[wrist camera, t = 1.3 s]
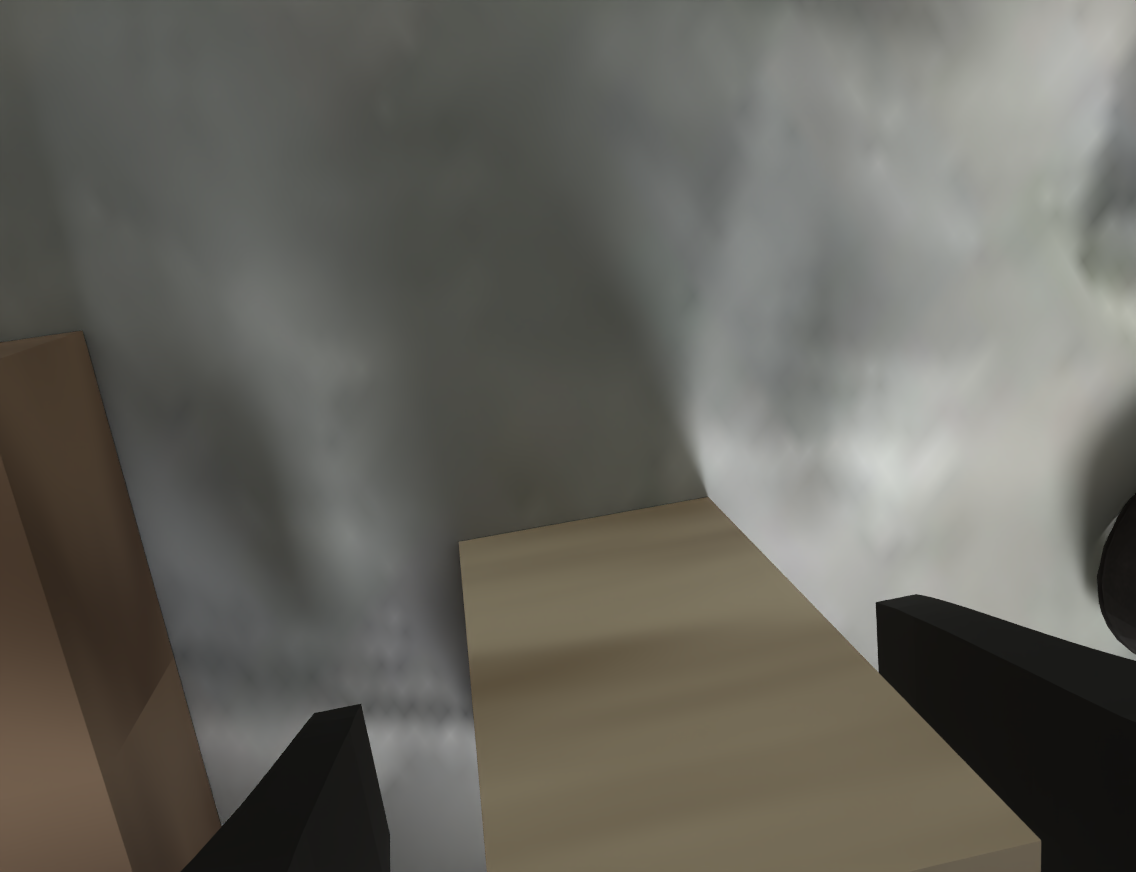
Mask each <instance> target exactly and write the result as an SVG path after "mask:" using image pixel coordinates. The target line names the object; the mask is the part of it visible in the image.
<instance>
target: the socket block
mask: <svg viewBox="0 0 1136 872" xmlns="http://www.w3.org/2000/svg"><path fill="white" fill-rule="evenodd" d="M220 828H221V824H220V820H219V817H218V813H217V810H216V806H215V802H214V799H213V795H212V792H211V788H210V785H209V781H208V777H207V774H206V770H205V767H204V763H203V760H202V756H201V752H200V749H199V745H198V742H197V738H196V735H195V731H194V727H193V724H192V720H191V717H190V713H189V710H188V706H187V702H186V699H185V695H184V692H183V688H182V685H181V681H180V677H179V674H178V670H177V667H176V663H175V660H174V656H173V652H172V649H171V645H170V642H169V638H168V635H167V631H166V627H165V624H164V620H163V617H162V613H161V610H160V606H159V602H158V599H157V595H156V592H155V588H154V585H153V581H152V577H151V574H150V570H149V567H148V563H147V560H146V556H145V552H144V549H143V545H142V542H141V538H140V535H139V531H138V527H137V524H136V520H135V517H134V513H133V510H132V506H131V502H130V499H129V495H128V492H127V488H126V485H125V481H124V477H123V474H122V470H121V467H120V463H119V460H118V456H117V452H116V449H115V445H114V442H113V438H112V434H111V431H110V427H109V424H108V420H107V417H106V413H105V409H104V406H103V402H102V399H101V395H100V392H99V388H98V384H97V381H96V377H95V374H94V370H93V367H92V363H91V359H90V356H89V352H88V349H87V345H86V342H85V338H84V334H83V331H75V332H68V333H62V334H55V335H48V336H41V337H34V338H27V339H20V340H14V341H7V342H0V872H180V871H181V870H182V869H183V868H184V867H185V866H186V865H187V864H188V863H189V862H190V861H191V860H192V859H193V858H194V857H195V856H196V855H197V854H198V852H199V851H200V850H201V849H202V848H203V847H204V846H205V845H206V844H207V842H208V841H209V840H210V839H211V838H212V837H213V836H214V835H215V834H216V832H217V831H218V830H219V829H220Z"/></svg>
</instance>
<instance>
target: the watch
mask: <svg viewBox="0 0 1136 872" xmlns="http://www.w3.org/2000/svg"><path fill="white" fill-rule="evenodd" d="M1097 584H1098V598H1099V604H1100V608H1101V612H1102V615H1103V617H1104V619H1105V621H1106V624H1107V626H1108V628H1109V629H1110V630H1111V632H1112V633H1113V635H1114V636H1115V637H1116V639H1117V640H1118V641H1119V642H1121V643H1122V644H1123V645H1124V646H1125V647H1127V648H1128V649H1129V650H1130V651H1131V652H1133V653H1134V654H1136V493H1135V494H1134V495H1133V497H1132V498H1131V499H1130V500H1129V501H1128V502H1127V504H1126V505H1125V506H1124V508H1123V509H1122V511H1121V512H1120V514H1119V515H1118V517H1117V520H1116V522H1115V524H1114V526H1113V528H1112V530H1111V532H1110V534H1109V536H1108V539H1107V541H1106V543H1105V545H1104V548H1103V552H1102V557H1101V561H1100V566H1099V570H1098V574H1097Z"/></svg>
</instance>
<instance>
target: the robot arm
mask: <svg viewBox="0 0 1136 872" xmlns="http://www.w3.org/2000/svg"><path fill="white" fill-rule="evenodd" d="M876 619H877V642H878V665H879V674H880V675H881V676H882V677H883V678H884V679H885V680H886V681H887V682H888V683H889V684H890V685H891V686H892V687H893V688H894V689H895V690H896V691H897V692H898V693H899V694H900V695H901V696H902V697H903V698H904V699H905V701H906V702H907V703H908V704H909V705H910V706H911V707H912V708H913V709H914V710H915V711H916V712H917V713H918V714H919V715H920V716H921V717H922V718H923V719H924V720H925V721H926V722H927V723H928V724H929V725H930V726H931V727H932V728H933V729H934V730H935V731H936V733H937V734H938V735H939V736H940V737H941V738H942V739H943V740H944V741H945V742H946V743H947V744H948V745H949V746H950V747H951V748H952V749H953V750H954V751H955V752H956V753H957V754H958V755H959V756H960V757H961V758H962V759H963V760H964V761H965V762H966V763H967V764H968V766H969V767H970V768H971V769H972V770H973V771H974V772H975V773H976V774H977V775H978V776H979V777H980V778H981V779H982V780H983V781H984V782H985V783H986V784H987V785H988V786H989V787H990V788H991V789H992V790H993V791H994V792H995V793H996V794H997V795H998V796H999V797H1000V799H1001V800H1002V801H1003V802H1004V803H1005V804H1006V805H1007V806H1008V807H1009V808H1010V809H1011V810H1012V811H1013V812H1014V813H1015V814H1016V815H1017V816H1018V817H1019V818H1020V819H1021V820H1022V821H1023V822H1024V823H1025V824H1026V825H1027V826H1028V827H1029V828H1030V829H1031V830H1032V832H1033V833H1034V834H1035V835H1036V836H1037V837H1038V838H1039V839H1040V840H1041V872H1136V661H1134V660H1131V659H1127V658H1123V657H1120V656H1116V655H1113V654H1109V653H1106V652H1102V651H1099V650H1095V649H1092V648H1089V647H1085V646H1082V645H1079V644H1076V643H1072V642H1069V641H1066V640H1063V639H1060V638H1057V637H1053V636H1050V635H1047V634H1044V633H1041V632H1038V631H1035V630H1032V629H1029V628H1026V627H1023V626H1020V625H1017V624H1014V623H1011V622H1008V621H1005V620H1002V619H999V618H996V617H993V616H990V615H987V614H984V613H981V612H978V611H975V610H972V609H969V608H966V607H963V606H959V605H956V604H953V603H950V602H946V601H943V600H939V599H935V598H932V597H927V596H923V595H918V594H915V595H910V596H905V597H900V598H895V599H890V600H885V601H880V602H876ZM180 872H390V833H389V829H388V824H387V820H386V815H385V811H384V806H383V801H382V797H381V792H380V788H379V783H378V779H377V774H376V770H375V765H374V761H373V756H372V752H371V747H370V743H369V738H368V734H367V729H366V725H365V720H364V715H363V711H362V706H361V704H358V705H353V706H348V707H343V708H338V709H333V710H328V711H323V712H318V713H314V714H313V715H312V717H311V718H310V719H309V720H308V721H307V723H306V724H305V725H304V726H303V728H302V729H301V730H300V732H299V733H298V734H297V735H296V737H295V738H294V739H293V741H292V742H291V743H290V744H289V746H288V747H287V748H286V750H285V751H284V752H283V753H282V755H281V756H280V757H279V759H278V760H277V761H276V762H275V764H274V765H273V766H272V767H271V769H270V770H269V771H268V773H267V774H266V775H265V776H264V777H263V779H262V780H261V781H260V782H259V784H258V785H257V786H256V787H255V789H254V790H253V791H252V792H251V794H250V795H249V796H248V797H247V798H246V800H245V801H244V802H243V803H242V805H241V806H240V807H239V808H238V809H237V810H236V811H235V812H234V814H233V815H232V816H231V817H230V818H229V819H228V820H227V821H226V822H225V824H224V825H223V826H222V827H221V828H220V829H219V830H218V831H217V832H216V834H215V835H214V836H213V837H212V838H211V839H210V840H209V841H208V842H207V844H206V845H205V846H204V847H203V848H202V849H201V850H200V851H199V852H198V854H197V855H196V856H195V857H194V858H193V859H192V860H191V861H190V862H189V863H188V864H187V865H186V866H185V867H184V868H183V869H182V870H181V871H180Z"/></svg>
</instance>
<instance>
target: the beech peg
mask: <svg viewBox="0 0 1136 872" xmlns="http://www.w3.org/2000/svg"><path fill="white" fill-rule="evenodd" d="M459 552H460V564H461V576H462V587H463V599H464V611H465V622H466V634H467V646H468V657H469V669H470V680H471V692H472V704H473V715H474V727H475V739H476V750H477V762H478V773H479V785H480V797H481V808H482V820H483V832H484V843H485V855H486V866H487V872H1041V840H1040V839H1039V838H1038V837H1037V836H1036V835H1035V834H1034V833H1033V832H1032V830H1031V829H1030V828H1029V827H1028V826H1027V825H1026V824H1025V823H1024V822H1023V821H1022V820H1021V819H1020V818H1019V817H1018V816H1017V815H1016V814H1015V813H1014V812H1013V811H1012V810H1011V809H1010V808H1009V807H1008V806H1007V805H1006V804H1005V803H1004V802H1003V801H1002V800H1001V799H1000V797H999V796H998V795H997V794H996V793H995V792H994V791H993V790H992V789H991V788H990V787H989V786H988V785H987V784H986V783H985V782H984V781H983V780H982V779H981V778H980V777H979V776H978V775H977V774H976V773H975V772H974V771H973V770H972V769H971V768H970V767H969V766H968V764H967V763H966V762H965V761H964V760H963V759H962V758H961V757H960V756H959V755H958V754H957V753H956V752H955V751H954V750H953V749H952V748H951V747H950V746H949V745H948V744H947V743H946V742H945V741H944V740H943V739H942V738H941V737H940V736H939V735H938V734H937V733H936V731H935V730H934V729H933V728H932V727H931V726H930V725H929V724H928V723H927V722H926V721H925V720H924V719H923V718H922V717H921V716H920V715H919V714H918V713H917V712H916V711H915V710H914V709H913V708H912V707H911V706H910V705H909V704H908V703H907V702H906V701H905V699H904V698H903V697H902V696H901V695H900V694H899V693H898V692H897V691H896V690H895V689H894V688H893V687H892V686H891V685H890V684H889V683H888V682H887V681H886V680H885V679H884V678H883V677H882V676H881V675H880V674H879V673H878V672H877V671H876V670H875V669H874V668H873V666H872V665H871V664H870V663H869V662H868V661H867V660H866V659H865V658H864V657H863V656H862V655H861V654H860V653H859V652H858V651H857V650H856V649H855V648H854V647H853V646H852V645H851V644H850V643H849V642H848V641H847V640H846V639H845V638H844V637H843V636H842V635H841V633H840V632H839V631H838V630H837V629H836V628H835V627H834V626H833V625H832V624H831V623H830V622H829V621H828V620H827V619H826V618H825V617H824V616H823V615H822V614H821V613H820V612H819V611H818V610H817V609H816V608H815V607H814V606H813V605H812V604H811V603H810V601H809V600H808V599H807V598H806V597H805V596H804V595H803V594H802V593H801V592H800V591H799V590H798V589H797V588H796V587H795V586H794V585H793V584H792V583H791V582H790V581H789V580H788V579H787V578H786V577H785V576H784V575H783V574H782V573H781V572H780V571H779V570H778V568H777V567H776V566H775V565H774V564H773V563H772V562H771V561H770V560H769V559H768V558H767V557H766V556H765V555H764V554H763V553H762V552H761V551H760V550H759V549H758V548H757V547H756V546H755V545H754V544H753V543H752V542H751V541H750V540H749V539H748V538H747V537H746V535H745V534H744V533H743V532H742V531H741V530H740V529H739V528H738V527H737V526H736V525H735V524H734V523H733V522H732V521H731V520H730V519H729V518H728V517H727V516H726V515H725V514H724V513H723V512H722V511H721V510H720V509H719V508H718V507H717V506H716V505H715V504H714V502H713V501H712V500H711V499H710V498H709V497H705V498H699V499H694V500H688V501H683V502H677V503H671V504H666V505H660V506H655V507H649V508H644V509H638V510H633V511H627V512H621V513H616V514H610V515H605V516H599V517H594V518H588V519H582V520H577V521H571V522H566V523H560V524H555V525H549V526H543V527H538V528H532V529H527V530H521V531H516V532H510V533H505V534H499V535H493V536H488V537H482V538H477V539H471V540H466V541H460V542H459Z"/></svg>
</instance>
